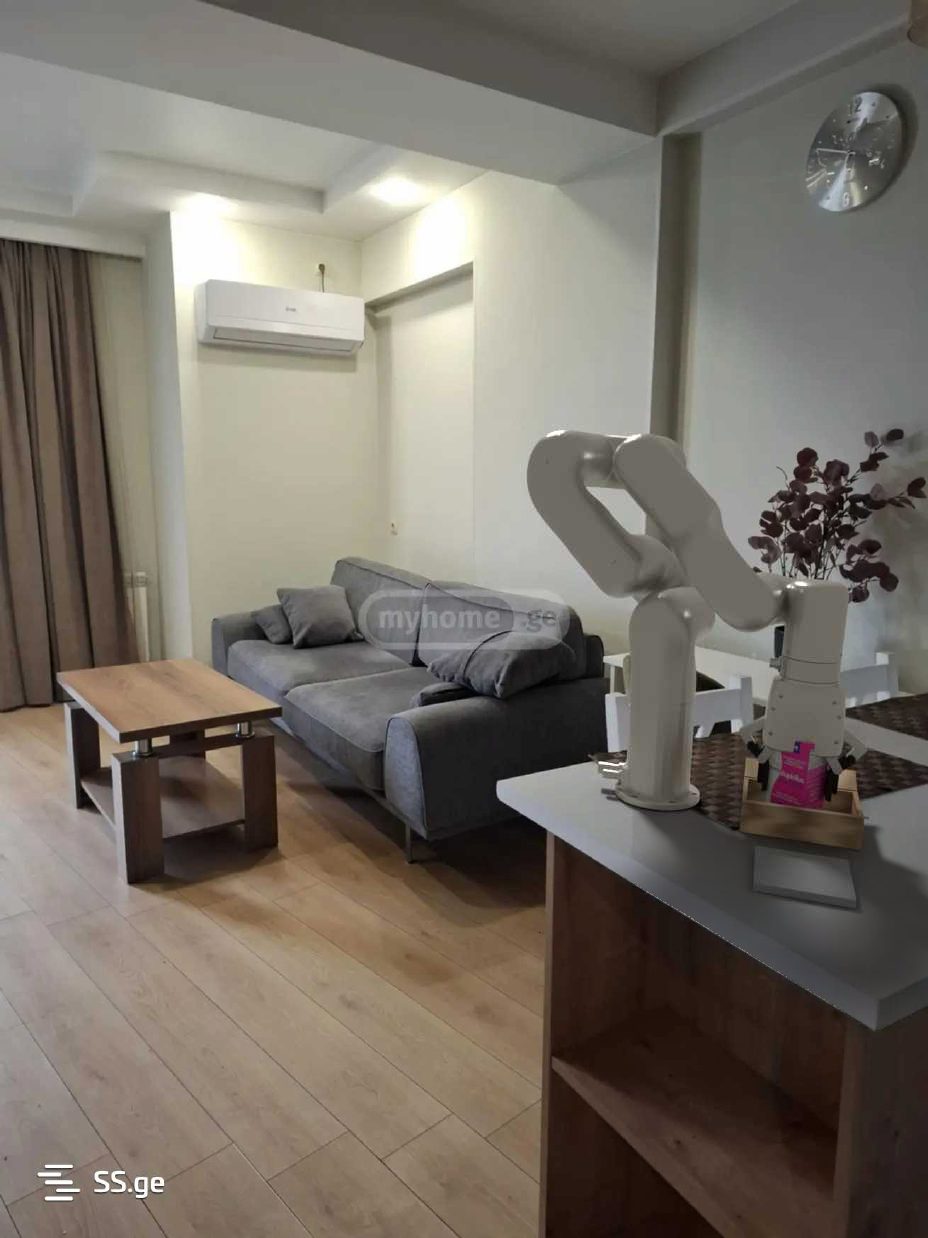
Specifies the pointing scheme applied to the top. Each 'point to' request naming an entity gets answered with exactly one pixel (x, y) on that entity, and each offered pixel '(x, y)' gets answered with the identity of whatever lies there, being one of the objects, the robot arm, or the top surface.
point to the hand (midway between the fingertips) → (795, 792)
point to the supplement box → (797, 777)
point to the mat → (803, 876)
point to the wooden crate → (804, 814)
